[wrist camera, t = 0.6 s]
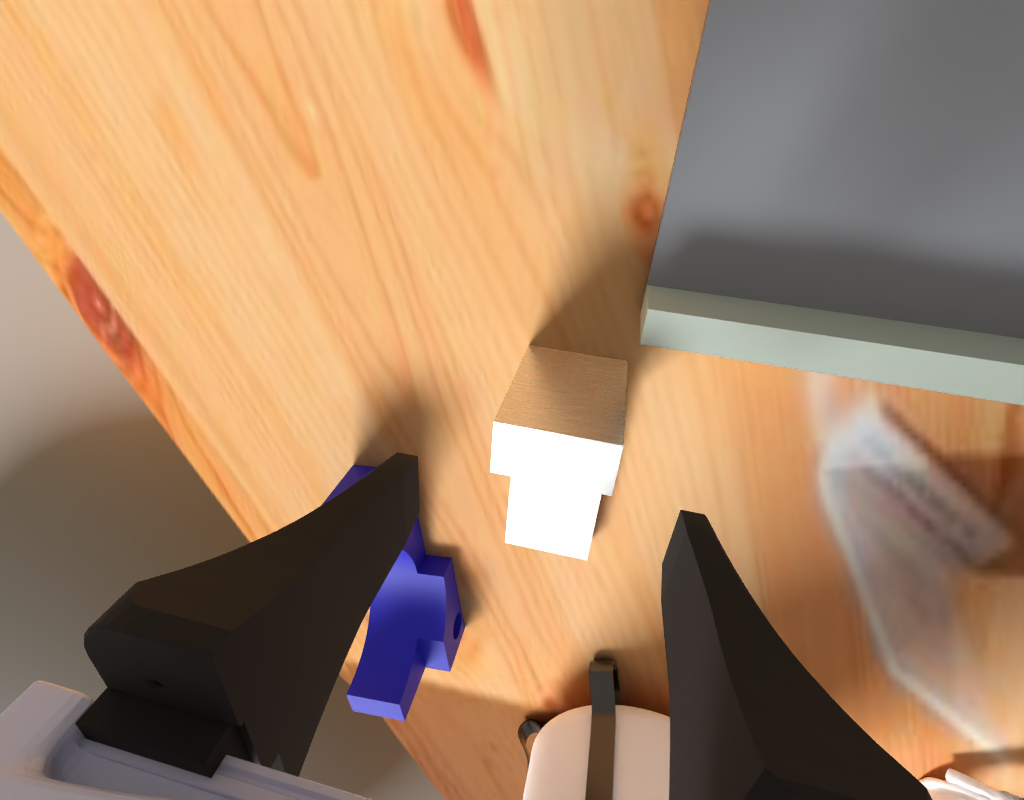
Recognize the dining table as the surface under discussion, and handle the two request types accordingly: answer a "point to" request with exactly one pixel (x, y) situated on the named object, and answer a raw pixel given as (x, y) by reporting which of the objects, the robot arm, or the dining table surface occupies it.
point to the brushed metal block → (560, 446)
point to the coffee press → (599, 748)
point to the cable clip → (405, 625)
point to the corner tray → (851, 194)
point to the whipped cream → (963, 788)
